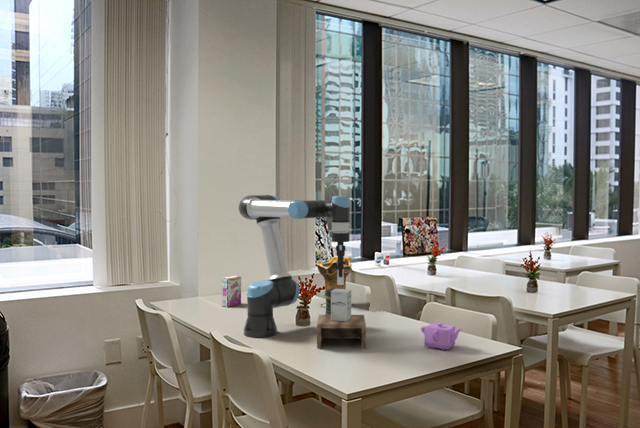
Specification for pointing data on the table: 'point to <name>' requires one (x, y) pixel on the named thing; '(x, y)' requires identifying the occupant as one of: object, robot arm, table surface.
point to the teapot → (440, 335)
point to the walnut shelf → (341, 329)
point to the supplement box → (341, 304)
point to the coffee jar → (328, 300)
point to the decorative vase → (333, 273)
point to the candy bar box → (231, 290)
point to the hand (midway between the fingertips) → (340, 282)
